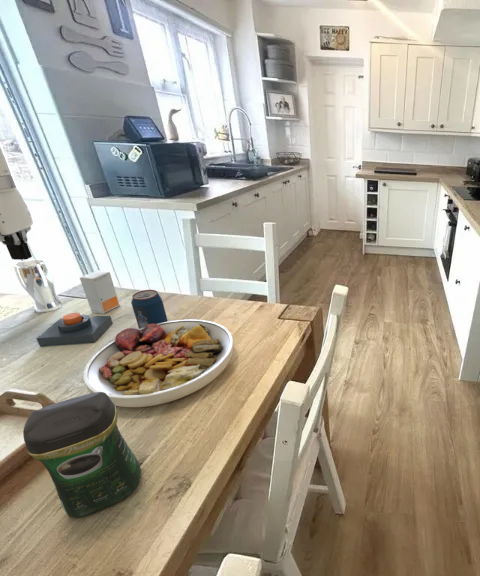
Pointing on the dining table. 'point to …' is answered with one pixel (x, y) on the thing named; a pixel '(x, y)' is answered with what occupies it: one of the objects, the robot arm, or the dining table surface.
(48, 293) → the beer glass
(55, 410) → the coffee jar
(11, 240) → the robot arm
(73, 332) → the button base
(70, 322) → the orange button cap
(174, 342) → the white plate of food
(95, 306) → the cosmetic box
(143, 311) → the soda can
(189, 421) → the dining table surface
